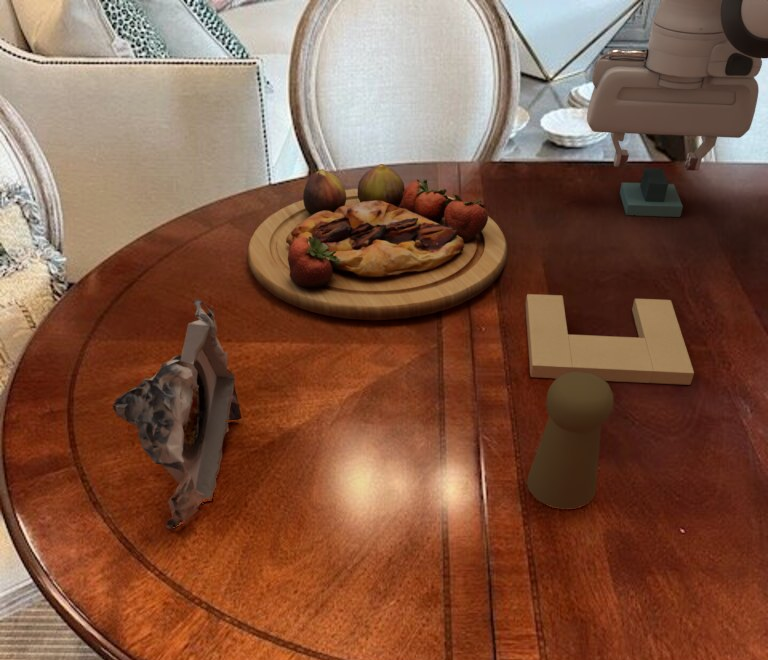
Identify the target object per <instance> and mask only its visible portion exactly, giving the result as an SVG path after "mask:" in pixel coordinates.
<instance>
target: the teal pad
mask: <svg viewBox="0 0 768 660" xmlns="http://www.w3.org/2000/svg"><path fill="white" fill-rule="evenodd" d="M640 180H641V181H640V182H621V183H620V189H619V196H620V199H621V203H622V206H623V209H624V213H625V215H626V216H634V215H635V216H638V217H639V216H640V217H662V218H663V217H666V218H681V215H682V212H683V208H684V205H683V203H682V201H681V198H680V196H679V193H678V190H677V189H676V186H675V184H674V183H669V182H668V179H667V176H666V173H665V171H664V169H663V168H655V167H654V168H653V167H652V168H651V167H649V168H648V167H644V168H643V172H642V176H641V179H640Z"/></svg>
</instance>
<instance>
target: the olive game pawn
mask: <svg viewBox="0 0 768 660" xmlns="http://www.w3.org/2000/svg"><path fill="white" fill-rule="evenodd" d="M545 406H546V411H547V414H548V416H549V417H548V419H547V422H546V425H545V428H544V430H543V434H542V436H541V438H540V442H539V444H538V447H537V450H536V453H535V455H534V457H533V460H532V461H533V462H532V464H531V467H530V468H529V472H528V475H527V478H528V479H527V478H526V486H527V485H528V488H529V491H530V492H531V493H532V494H533V495H534V496H535V498H537V499H538V500H540V501H541V502H543V503H545V504H548V505H551V506H553V507H559V508H564V509H566V508H572V509H573V508H577V507H579V506H581V505H582V506H583V505H585V504H587V503H588V502H590V501H591V500H592V498H593V497H594V496H595V497H596V495H595V494H597V483H598V471H599V470H598V469H599V459H600V458H599V456H600V446H601V445H600V444H601V434H602V433H601V431H602V425H604V424H605V423H606V422H607V420H608V419H609V418H610V415H611V414H612V412H613V408H614V392H613V390H612V389H611V386H610V385H609V383H608V381H605V380H604V379H602V378H600V377H598V376H596V375H593V374H590V373H585V372H570V373H566V374H563V375H562V376H560V377H558V378H555V379H554V380H553V381H552V383H551V385H550V386H549V388H548V390H547V394H546V400H545ZM528 488H527V489H528ZM529 491H528V492H529ZM595 497H594V498H595ZM594 498H593V499H594ZM592 501H593V500H592ZM590 503H591V502H590Z"/></svg>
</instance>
